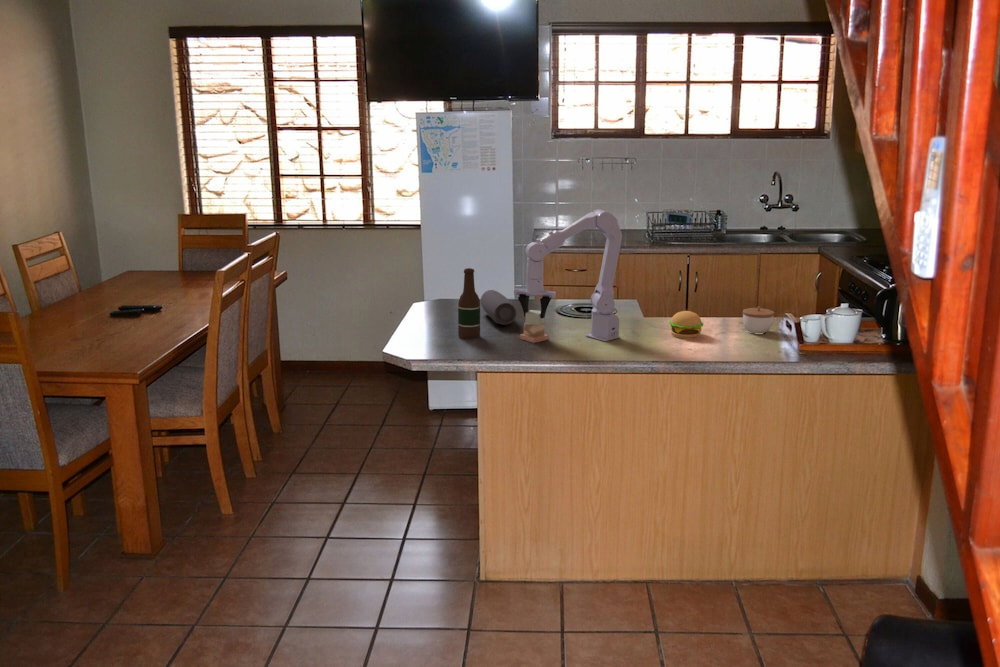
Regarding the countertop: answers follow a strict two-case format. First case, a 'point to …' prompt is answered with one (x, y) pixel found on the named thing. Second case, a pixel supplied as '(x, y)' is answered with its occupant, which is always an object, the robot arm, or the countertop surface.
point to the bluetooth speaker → (498, 307)
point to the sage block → (534, 318)
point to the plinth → (534, 338)
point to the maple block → (533, 330)
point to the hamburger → (686, 325)
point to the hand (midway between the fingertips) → (534, 316)
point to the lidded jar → (757, 319)
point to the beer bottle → (469, 308)
